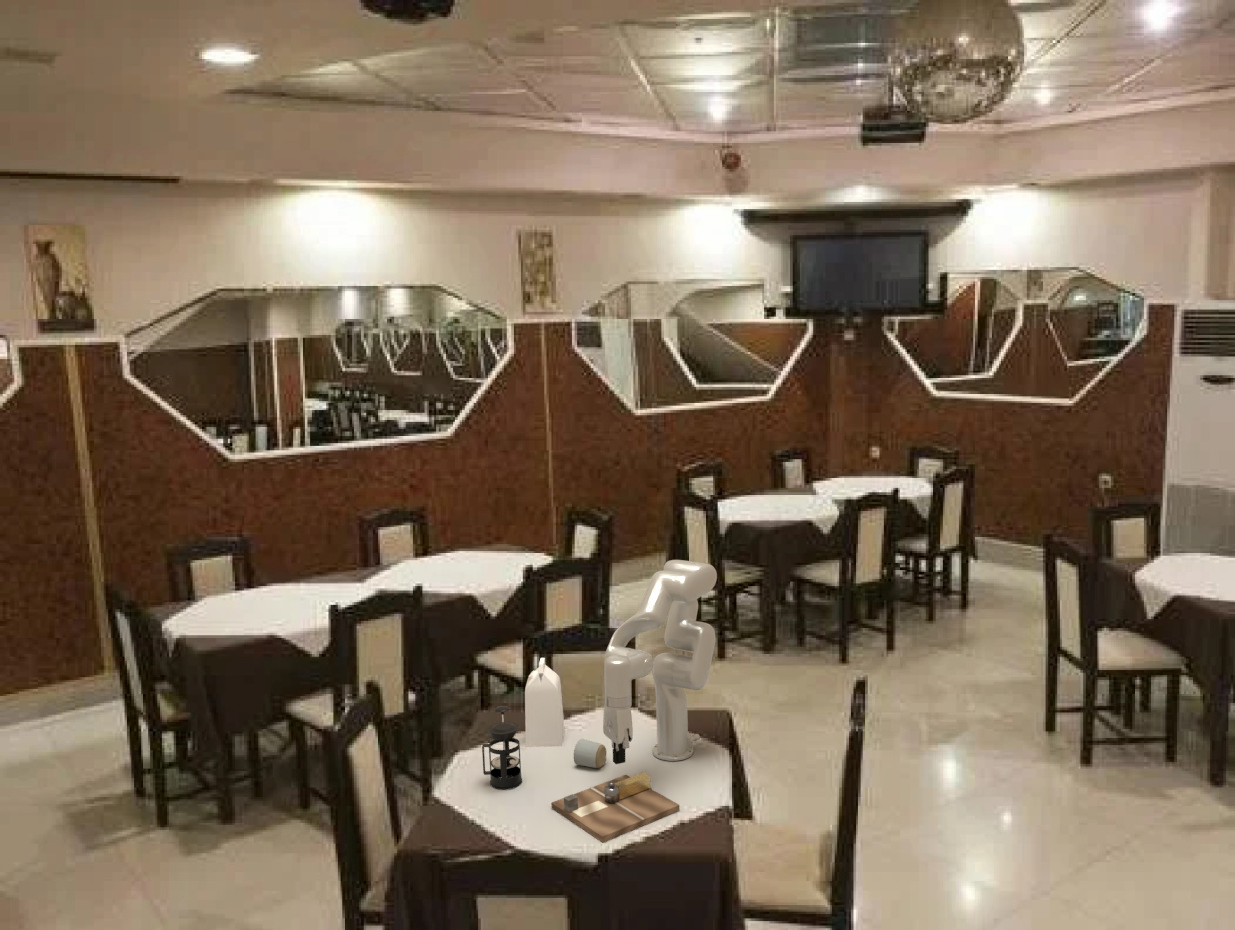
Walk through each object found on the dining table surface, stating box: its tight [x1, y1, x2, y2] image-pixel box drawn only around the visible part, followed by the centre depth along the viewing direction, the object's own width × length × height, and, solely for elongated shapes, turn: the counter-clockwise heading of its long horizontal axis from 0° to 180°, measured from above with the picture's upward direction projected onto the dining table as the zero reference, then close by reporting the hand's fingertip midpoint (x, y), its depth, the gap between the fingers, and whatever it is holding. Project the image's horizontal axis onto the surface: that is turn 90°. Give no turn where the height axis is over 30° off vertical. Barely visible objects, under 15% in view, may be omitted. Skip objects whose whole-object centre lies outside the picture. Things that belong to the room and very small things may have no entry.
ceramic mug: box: [573, 738, 607, 769], centre depth 308 cm, size 11×8×8 cm
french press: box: [481, 705, 523, 791], centre depth 296 cm, size 12×9×23 cm
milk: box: [524, 657, 566, 748], centre depth 326 cm, size 12×12×26 cm
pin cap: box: [607, 780, 615, 788], centre depth 281 cm, size 2×2×1 cm
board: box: [550, 774, 680, 843], centre depth 280 cm, size 26×24×5 cm
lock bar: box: [604, 772, 651, 803], centre depth 285 cm, size 14×4×4 cm, turn 127°
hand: (619, 762), depth 289 cm, fingers closed
